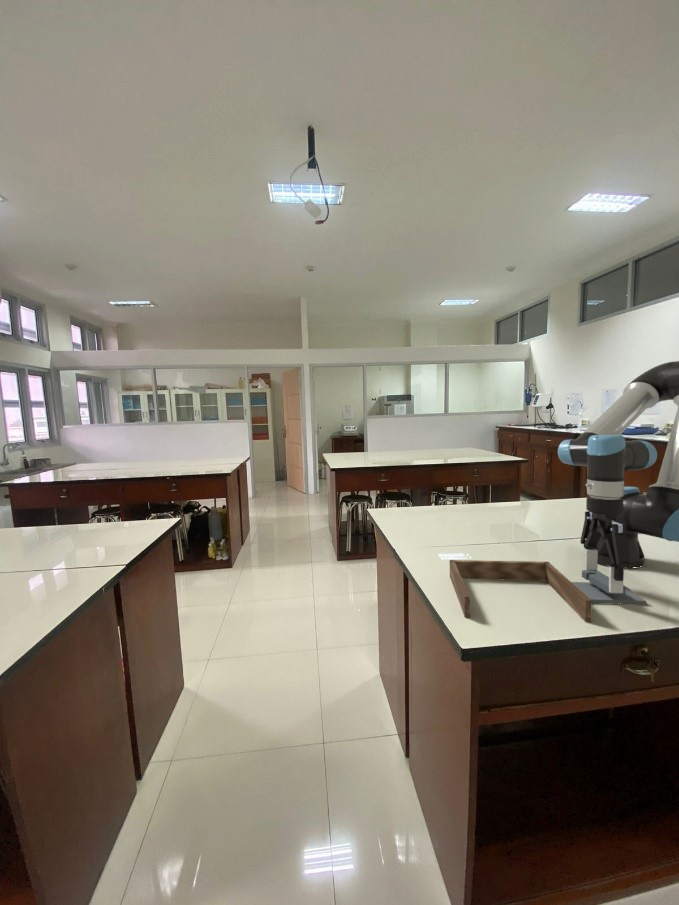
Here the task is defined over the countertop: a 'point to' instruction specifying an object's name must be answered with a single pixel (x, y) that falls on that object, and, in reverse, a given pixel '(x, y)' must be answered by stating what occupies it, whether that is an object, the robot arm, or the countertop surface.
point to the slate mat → (603, 597)
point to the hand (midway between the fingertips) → (602, 582)
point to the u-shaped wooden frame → (517, 572)
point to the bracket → (599, 580)
